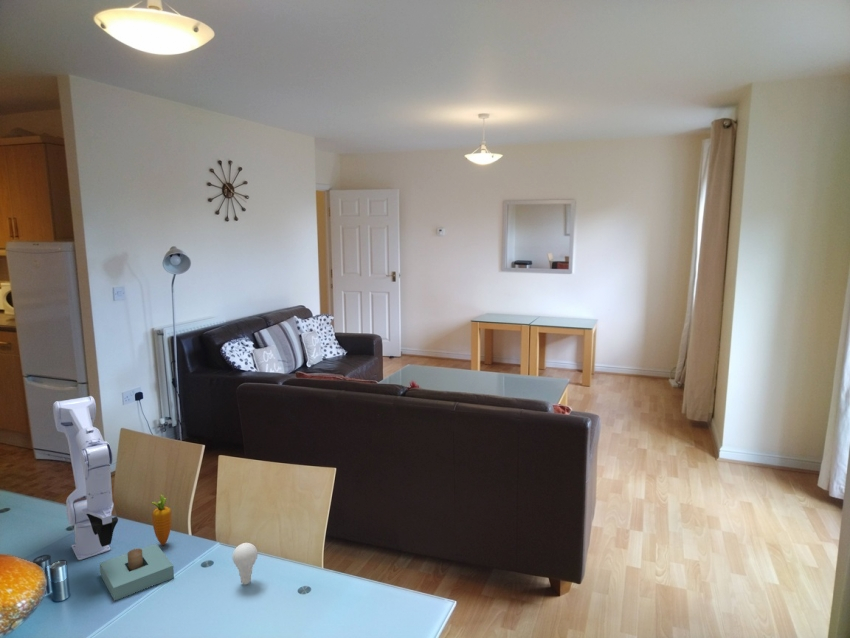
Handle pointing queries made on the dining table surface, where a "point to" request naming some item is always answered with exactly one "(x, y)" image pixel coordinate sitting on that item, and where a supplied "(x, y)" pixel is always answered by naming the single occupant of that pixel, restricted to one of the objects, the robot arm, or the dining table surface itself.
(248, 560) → the lightbulb
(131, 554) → the peg
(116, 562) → the socket block
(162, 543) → the carrot
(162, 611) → the dining table surface
